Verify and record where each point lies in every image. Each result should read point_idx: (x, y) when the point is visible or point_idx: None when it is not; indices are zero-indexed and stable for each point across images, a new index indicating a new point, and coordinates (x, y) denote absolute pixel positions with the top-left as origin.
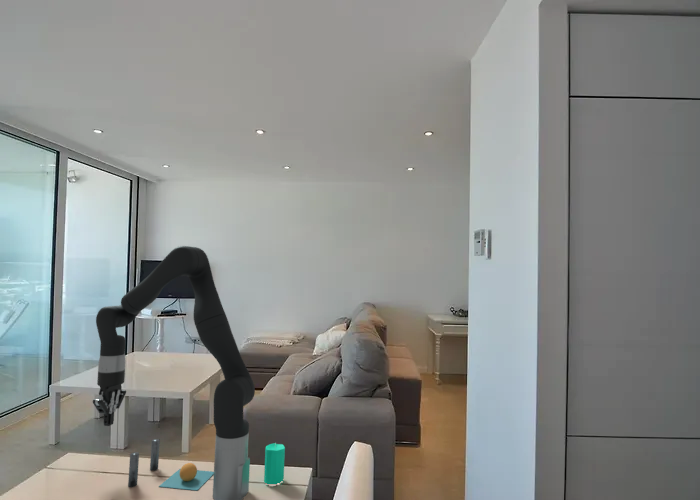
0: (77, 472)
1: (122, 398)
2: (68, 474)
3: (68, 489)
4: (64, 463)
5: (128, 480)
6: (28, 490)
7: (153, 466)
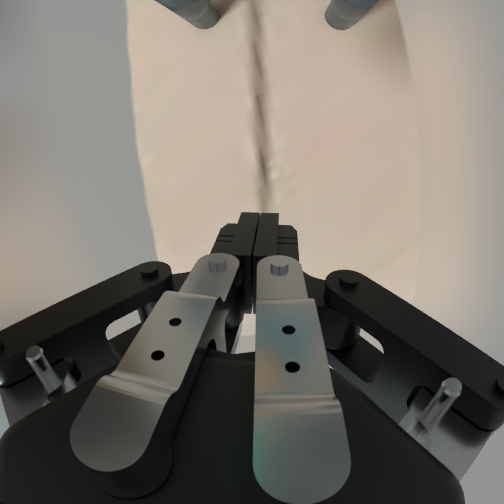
0: None
1: (59, 312)
2: None
3: (393, 202)
4: None
5: (353, 23)
6: None
7: (214, 7)
